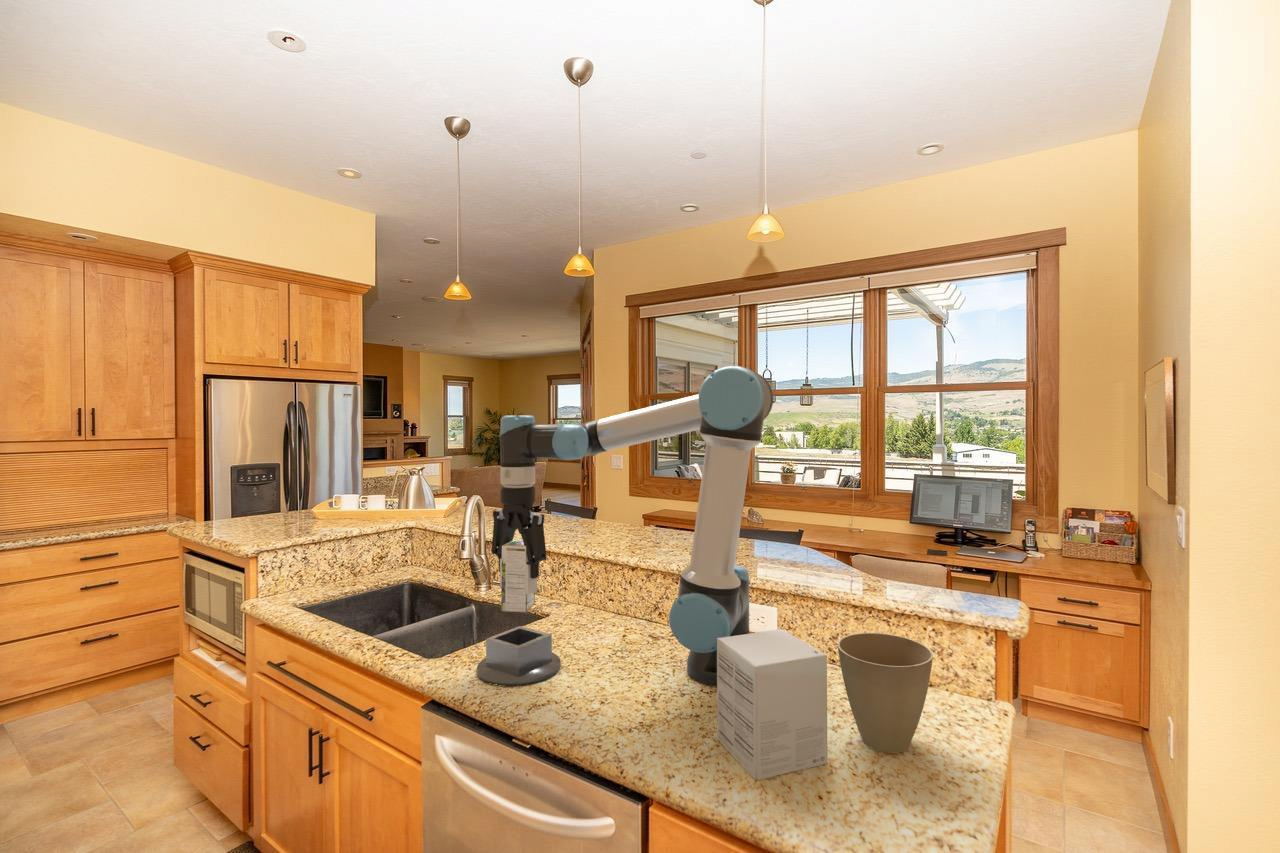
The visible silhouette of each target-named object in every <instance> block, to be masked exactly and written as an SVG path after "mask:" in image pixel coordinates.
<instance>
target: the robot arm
mask: <svg viewBox="0 0 1280 853" xmlns="http://www.w3.org/2000/svg"><path fill="white" fill-rule="evenodd" d="M699 387H700V388H699V390H698V393H697V394H694V395H691V396H690V395H689V396H685V397H681V398H678V399H674V400H671V401H670V400H669V401H667V402H663V403H658V404H655V405H652V406H651V405H650V406H647V407H643V408H639V409H636V410H631V411H627V412H623V413H620V414H616V415H612V416H609V417H605V418H600V419H596V420H593V421H588V422H584V423H562V424H560V423H559V424H558V423H555V424H554V423H553V424H549V423H548V424H547V423H546V424H541V423H539V424H538V423H536V418H535V417H534V415H524V414H523V415H503V416H502V417H501V419H500V431H499V444H500V445H499V446H500V470H499V473H500V484H501V486H502V487H500V490H499V491H500V496H499V497H500V504H501V505H503V507H502V508H501V509H497V510H493V511H492V517H493V529H492V530H493V531H492V538H491V539H492V540H491V554H492V555H495V556H496V557H497V559H498V572H499V575H500V576H499V588H500V589H501V583H502V545H504V544H506V543H508V542H510V541H513V540H514V537H515V534H516V531H518V533H519V534H520V535H521V540H523V543H524V546H526V554H527V558H528V562H526V594H531V593H534V592H535V593H537V592H538V578H539V577H540V562H543V561H546V560H547V548H546V547H547V546H546V539H545V530H544V529H545V528H544V523H545V522H544V521H545V515H544V514H543V513H540V514H539V513H535V510H534V503H535V502H536V487H535V483H536V460H541V459H542V460H561V461H562V460H563V461H574V460H581V459H582V458H584V457H592V456H596V455H598V454H601V453H605V452H610V451H612V450H616V449H622V448H627V447H629V446H635V445H639V444H643V443H648V442H652V441H655V440H660V439H664V438H668V437H672V436H678V435H682V434H687V433H691V432H694V431H699V436H701V438H702V440H703V441H704V442H705V449H704V458H703V466H702V471H701V479H700V480H701V481H700V487H699V495H698V500H697V501H698V502H697V509H696V517H695V525H694V532H693V533H694V534H693V539H692V546H691V547H692V548H691V555H690V560H689V561H690V562H689V565H688V566H686V567H685V568H684V569H682V570H681V572H680V578H679V584H678V585H679V586H678V591H677V598H676V599H675V600H674V601H673V603H672V605H671V607H670V610H669V614H668V625H669V628H670V630H671V633H672V635H673V637H674V638H675V639H676V640H677V641H678V643H679V644H680V645H681V646H683V647H684V648H686V649H687V650H689V652H688V656H687V660H686V672H687V675H689V677H690V678H692V679H693V680H695V681H696V682H699V683H702V684H704V685H705V684H706V685H709V686H716V687H717V638H722V637H730V636H737V635H744V634H750V584H751V580H750V573H749V571H748V569H747V568H746V567H744V566H741V565H736V560H737V555H738V554H737V552H738V546H739V540H740V533H741V532H740V530H741V525H742V517H743V511H744V504H745V496H746V490H747V482H748V474H749V468H750V461H751V460H750V459H751V454H752V450H753V449H754V448H755V447H756V446H757V445H759V444H760V443H761V441H762V434H763V426H764V421H765V419H766V418H768V416H769V414H770V413H771V410H772V409H773V404H774V393H773V388H772V387H771V385H770V383H769V382H768V380H767V379H766V378H765V377H764V376H763V375H761V374H759V373H758V372H755V371H752V370H751V369H749V368H747V367H743V366H739V365H736V366H731V365H730V366H729V365H728V366H724V367H721V368H718V369H716V370H714V371H713V372H711V373H710V374H708V375H707V376H706V378H705V379H704V380H703V382H702V383H701V385H700V386H699ZM533 556H534V557H533Z"/></svg>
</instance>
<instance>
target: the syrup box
mask: <svg viewBox="0 0 1280 853" xmlns="http://www.w3.org/2000/svg"><path fill="white" fill-rule="evenodd" d="M533 557H534V556H533ZM526 562H528V558H527V554H526V546H524V543H523V540H522V539H515V540H514V539H513V541H510V542H508V543H506V544H504V545H502V583H501V588H500V589H501V592H500V593H501V598H500V600H501V601H500V605H501V608H500V610H501V611H502V612H510V613H511V612H514V613H526V612H528V611H529V610H531V608H532V607H533V606H534V605H535V603H536V602H535V600H536V598H535V594H536V592H534V593H531V594H526Z"/></svg>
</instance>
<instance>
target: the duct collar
mask: <svg viewBox="0 0 1280 853" xmlns="http://www.w3.org/2000/svg"><path fill="white" fill-rule="evenodd" d="M552 636H553V635H552V634H551V633H547V632H543V631H540V630H536V629H533V628H529V627H525V626H521V625H519V626H516V627H514V628H511V629H509V630H506V631H503V632H500V633H497V634H494V635H492V636H490V637H488V638H485V654H486V655H485V657H484V658H483V659H482V660H481V661H480V662H478V665H477V666H476V674H477V677H478V679H479V680H481V681H482V680H483V682H484V681H485V682H484V683H486V682H487V684H489V683H491V684H490V685H493V684H497V685H496V686H498V685H505V686H504V687H521V686H520V685H523V686H528V685H527V684H529V685H533V683H534V684H537V683H540V682H541V683H542V682H544V681H546V680H548V679H551V678H552V677H554V676H555V675H556V674H558V673H559V671H560V669H561V665H562V664H561V663H562V660H561V659H560V656H559V655H557V654H556V653H554V652H553V650H552V648H553V644H552V643H553V642H552V641H553V640H552V639H553V638H552ZM517 685H519V686H517Z"/></svg>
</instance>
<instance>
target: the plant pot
mask: <svg viewBox="0 0 1280 853" xmlns="http://www.w3.org/2000/svg"><path fill="white" fill-rule="evenodd" d="M837 650H838V658H839V664H840V669H841V674H842V679H843V683H844V684H843V685H844V688H845V692H846V696H847V699H848V702H849V706H850V709H851V712H852V717H853V719H854V721H855V725H856V727H857V730H858V732H859V735H860V737H861V740H862V742H863V743H864V744H865V745H866V746H868V747H869V748H871V749H873V750H875V751H878V752H881V753H885V754H887V753H888V754H899V753H903V752H906V751H907V750H908V749H909V747H910V745H911V743H912V740H913V738H914V735H915V734H916V731H917V728H918V725H919V722H920V719H921V716H922V714H923V709H924V707H925V703H926V698H927V694H928V689H929V686H930V679H931V672H932V667H933V659H934V653H933V651H932V650H931V649H930V648H929V647H927V646H926V645H925V644H923V643H921V642H919V641H916V640H915V639H911V638H909V637H905V636H902V635H897V634H891V633H883V632H858V633H857V632H856V633H851V634H848V635H845V636H843V637H841V638H840V639H838V641H837Z"/></svg>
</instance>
